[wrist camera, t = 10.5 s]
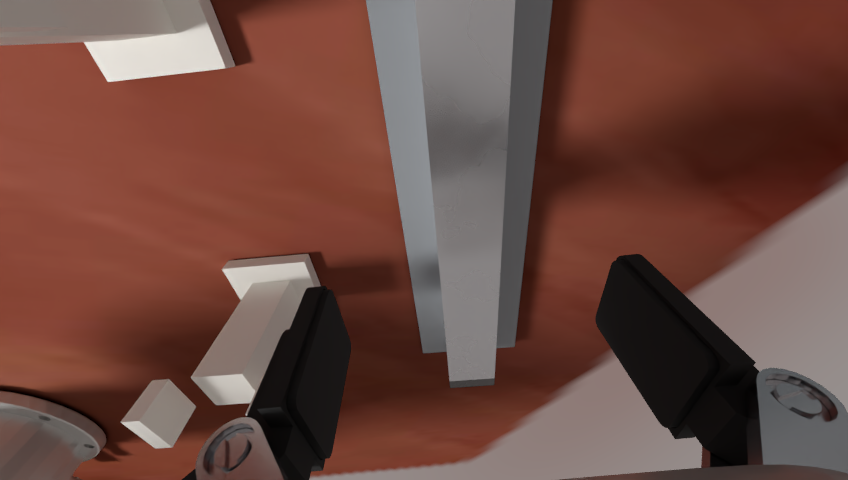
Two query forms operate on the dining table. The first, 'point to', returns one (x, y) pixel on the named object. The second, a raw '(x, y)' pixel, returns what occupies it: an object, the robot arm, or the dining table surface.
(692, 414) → the robot arm
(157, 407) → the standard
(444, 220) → the steel rail
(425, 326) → the mat
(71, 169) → the dining table surface
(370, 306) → the dining table surface
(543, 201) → the dining table surface
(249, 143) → the dining table surface
